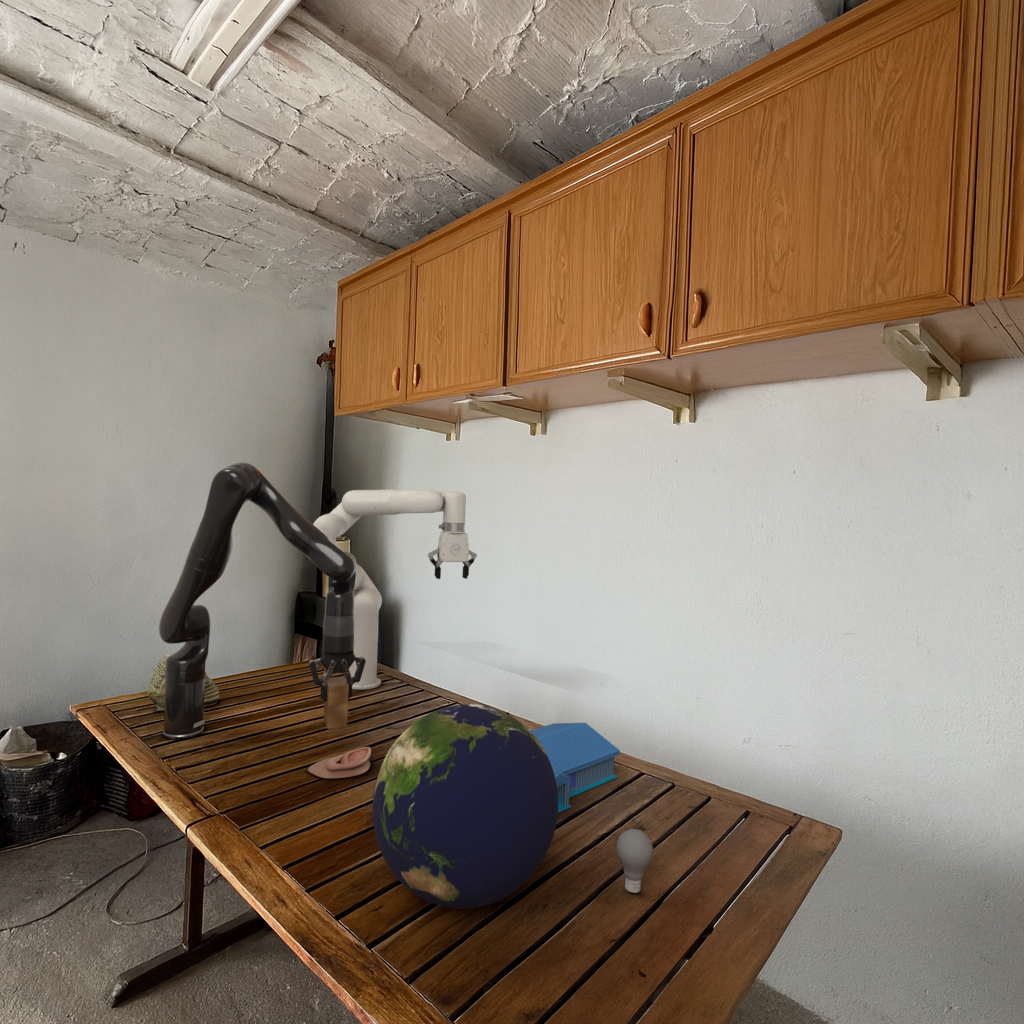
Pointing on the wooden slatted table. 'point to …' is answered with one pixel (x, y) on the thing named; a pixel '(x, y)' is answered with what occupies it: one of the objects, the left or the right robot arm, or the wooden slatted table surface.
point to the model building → (576, 758)
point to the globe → (465, 806)
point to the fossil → (158, 687)
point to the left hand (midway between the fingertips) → (336, 699)
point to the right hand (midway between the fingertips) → (451, 578)
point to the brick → (336, 703)
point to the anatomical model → (343, 764)
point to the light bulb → (634, 857)
